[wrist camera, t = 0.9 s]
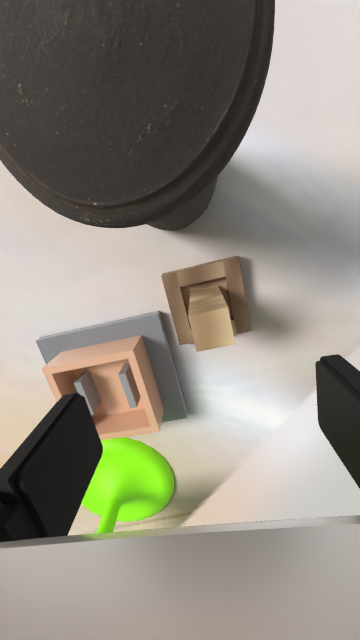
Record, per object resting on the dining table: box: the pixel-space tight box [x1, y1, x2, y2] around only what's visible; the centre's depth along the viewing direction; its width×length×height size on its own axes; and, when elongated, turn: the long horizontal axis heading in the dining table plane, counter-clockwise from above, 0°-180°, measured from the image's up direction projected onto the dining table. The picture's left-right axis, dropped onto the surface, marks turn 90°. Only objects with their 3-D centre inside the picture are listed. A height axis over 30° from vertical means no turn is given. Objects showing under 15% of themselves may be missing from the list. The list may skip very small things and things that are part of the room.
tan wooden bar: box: [188, 285, 235, 352], centre depth 23 cm, size 3×3×9 cm
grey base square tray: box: [36, 311, 187, 440], centre depth 29 cm, size 15×14×5 cm
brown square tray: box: [161, 256, 251, 345], centre depth 27 cm, size 8×8×2 cm
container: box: [0, 0, 275, 230], centre depth 15 cm, size 9×9×20 cm
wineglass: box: [81, 437, 174, 534], centre depth 29 cm, size 16×16×18 cm
